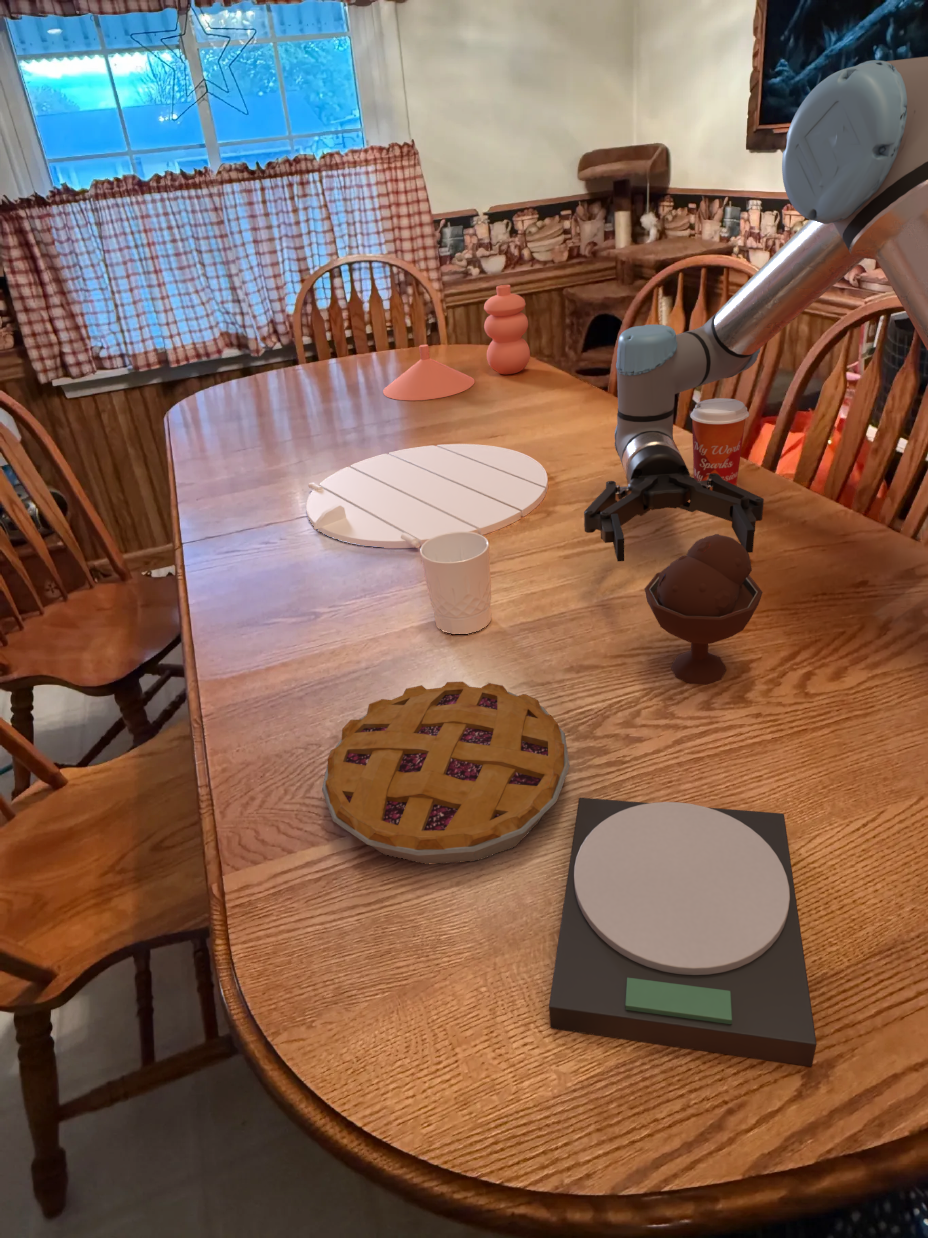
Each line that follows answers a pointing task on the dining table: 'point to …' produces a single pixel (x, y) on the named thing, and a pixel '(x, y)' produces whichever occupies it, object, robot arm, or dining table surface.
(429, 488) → the lazy susan
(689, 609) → the ice cream bowl
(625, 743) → the dining table surface
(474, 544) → the white cup
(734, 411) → the paper cup
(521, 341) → the ceramic vessels
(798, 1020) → the scale
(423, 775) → the pie
